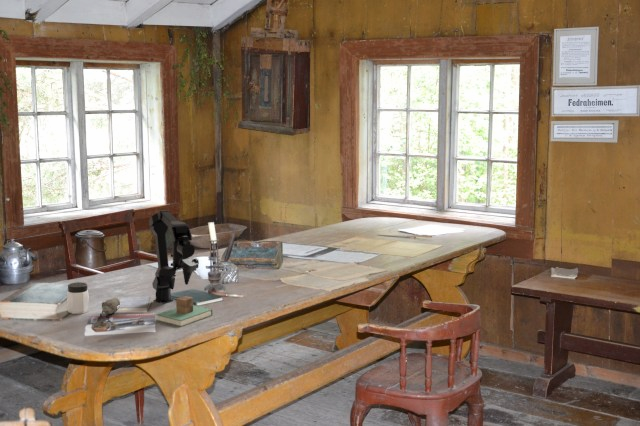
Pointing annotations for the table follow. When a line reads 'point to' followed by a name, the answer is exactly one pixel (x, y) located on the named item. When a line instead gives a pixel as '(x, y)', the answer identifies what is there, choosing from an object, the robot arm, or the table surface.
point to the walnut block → (184, 304)
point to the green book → (184, 316)
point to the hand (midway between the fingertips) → (179, 286)
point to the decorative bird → (110, 306)
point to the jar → (77, 298)
